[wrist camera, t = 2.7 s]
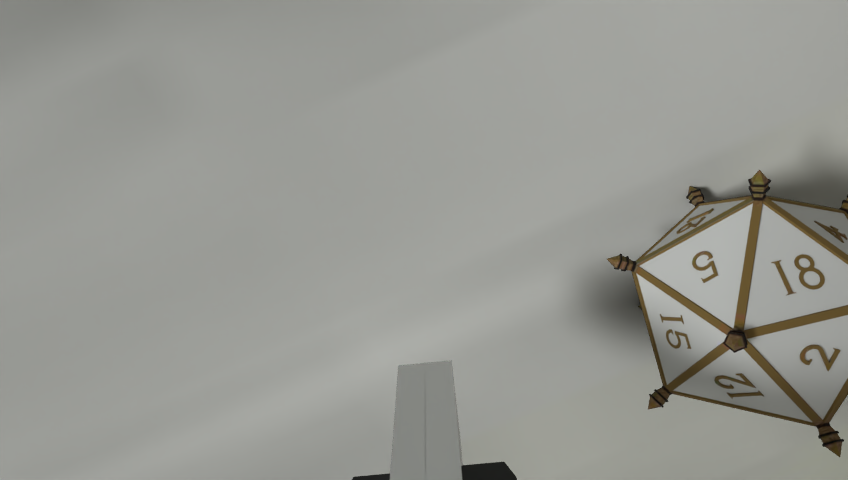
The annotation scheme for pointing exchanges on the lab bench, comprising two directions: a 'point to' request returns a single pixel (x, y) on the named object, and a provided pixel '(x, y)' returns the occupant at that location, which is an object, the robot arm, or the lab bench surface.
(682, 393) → the game die
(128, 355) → the lab bench surface
